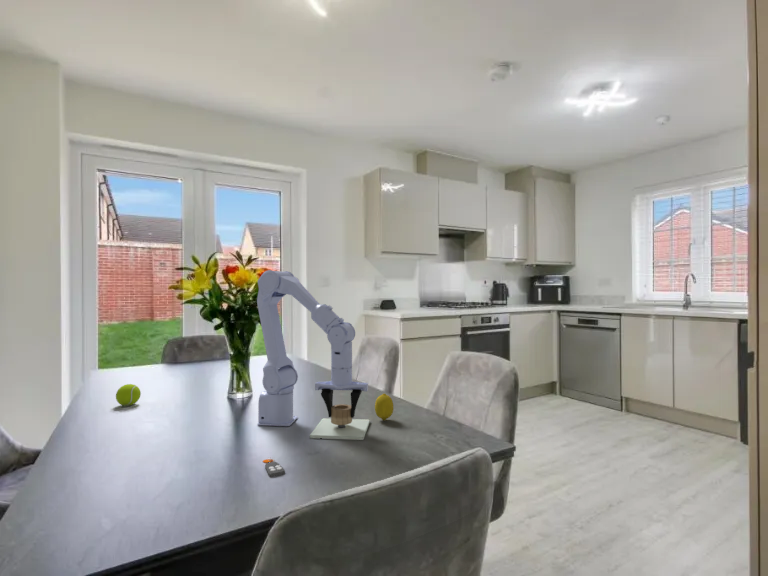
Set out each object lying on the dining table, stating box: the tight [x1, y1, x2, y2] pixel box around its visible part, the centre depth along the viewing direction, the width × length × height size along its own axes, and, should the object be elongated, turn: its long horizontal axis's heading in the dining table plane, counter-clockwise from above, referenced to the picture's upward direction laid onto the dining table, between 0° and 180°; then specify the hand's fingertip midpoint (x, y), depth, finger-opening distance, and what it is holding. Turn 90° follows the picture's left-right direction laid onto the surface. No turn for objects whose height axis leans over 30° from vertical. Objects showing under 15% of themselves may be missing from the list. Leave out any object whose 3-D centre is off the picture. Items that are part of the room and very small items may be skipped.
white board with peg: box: [309, 417, 371, 441], centre depth 115 cm, size 14×14×5 cm
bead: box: [330, 403, 353, 425], centre depth 114 cm, size 6×6×4 cm
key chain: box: [262, 458, 286, 478], centre depth 92 cm, size 13×4×2 cm, turn 30°
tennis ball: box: [115, 383, 142, 407], centre depth 138 cm, size 7×7×7 cm
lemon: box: [374, 393, 394, 421], centre depth 123 cm, size 6×6×8 cm
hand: (341, 416), depth 115 cm, fingers closed on bead, 5 cm apart
